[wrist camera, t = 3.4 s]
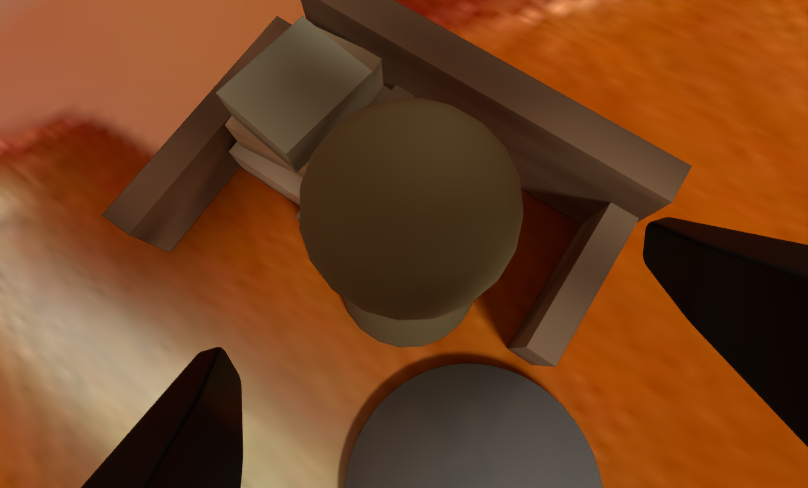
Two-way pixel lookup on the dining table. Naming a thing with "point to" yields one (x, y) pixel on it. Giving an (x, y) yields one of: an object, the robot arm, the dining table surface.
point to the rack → (403, 79)
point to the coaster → (471, 435)
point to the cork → (410, 216)
